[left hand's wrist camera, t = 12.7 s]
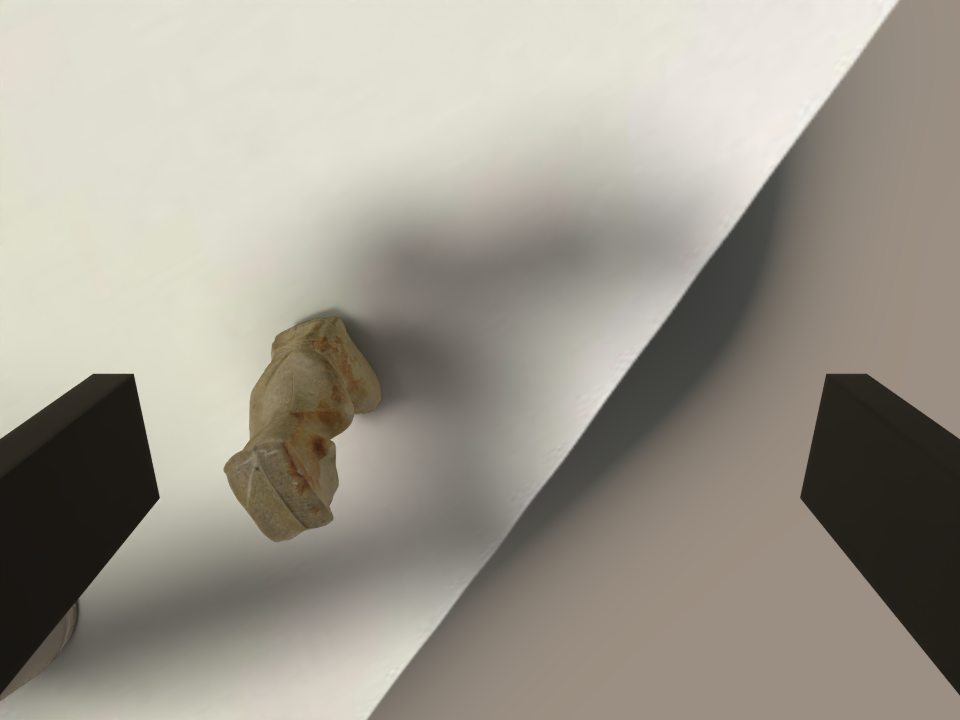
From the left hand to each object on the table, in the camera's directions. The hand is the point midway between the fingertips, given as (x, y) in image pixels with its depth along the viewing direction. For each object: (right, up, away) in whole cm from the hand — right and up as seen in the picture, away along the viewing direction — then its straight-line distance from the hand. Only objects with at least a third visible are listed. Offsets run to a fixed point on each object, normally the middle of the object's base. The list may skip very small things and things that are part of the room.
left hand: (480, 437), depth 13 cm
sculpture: (-9, +2, +30) cm, 31 cm away
